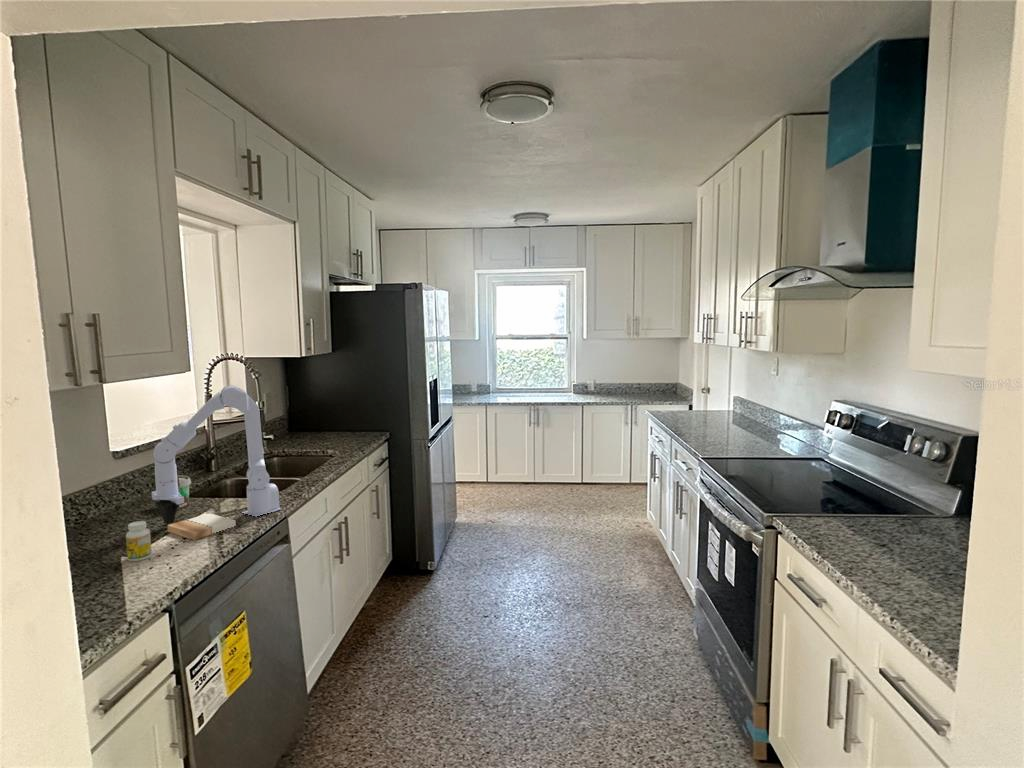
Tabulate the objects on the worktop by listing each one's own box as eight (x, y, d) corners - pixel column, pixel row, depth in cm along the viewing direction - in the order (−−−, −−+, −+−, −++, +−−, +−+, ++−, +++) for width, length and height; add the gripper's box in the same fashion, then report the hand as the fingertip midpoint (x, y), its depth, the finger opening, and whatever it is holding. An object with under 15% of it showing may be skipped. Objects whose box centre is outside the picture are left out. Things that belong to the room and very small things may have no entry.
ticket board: (209, 519, 173) (208, 512, 172) (235, 526, 166) (235, 519, 166) (185, 526, 166) (185, 519, 166) (212, 534, 159) (212, 527, 159)
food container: (199, 505, 187) (198, 477, 186) (181, 510, 181) (179, 482, 180) (181, 499, 193) (179, 473, 192) (163, 504, 188) (161, 477, 187)
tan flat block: (184, 526, 166) (184, 520, 166) (211, 534, 159) (211, 527, 159) (167, 531, 161) (167, 525, 161) (194, 540, 155) (194, 533, 155)
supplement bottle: (155, 556, 144) (153, 522, 143) (133, 563, 139) (130, 528, 138) (145, 552, 146) (143, 518, 146) (123, 559, 142) (121, 524, 141)
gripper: (139, 480, 164) (143, 522, 165) (165, 486, 157) (168, 531, 158) (163, 475, 170) (166, 516, 171) (189, 481, 163) (192, 523, 164)
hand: (169, 522), depth 165 cm, fingers closed
